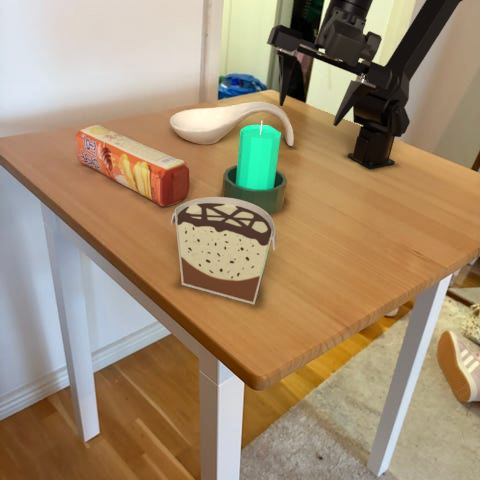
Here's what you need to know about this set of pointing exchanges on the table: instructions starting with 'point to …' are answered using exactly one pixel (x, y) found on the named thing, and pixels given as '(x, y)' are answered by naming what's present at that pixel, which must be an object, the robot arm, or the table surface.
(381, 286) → the table surface
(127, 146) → the snack package
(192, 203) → the food container
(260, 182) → the candle
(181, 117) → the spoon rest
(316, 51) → the robot arm
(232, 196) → the bowl
